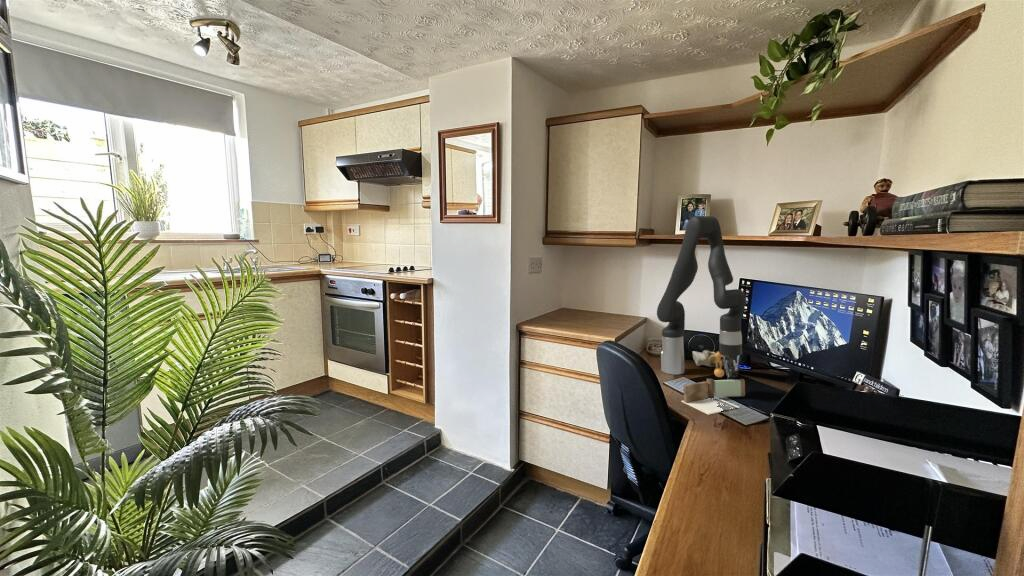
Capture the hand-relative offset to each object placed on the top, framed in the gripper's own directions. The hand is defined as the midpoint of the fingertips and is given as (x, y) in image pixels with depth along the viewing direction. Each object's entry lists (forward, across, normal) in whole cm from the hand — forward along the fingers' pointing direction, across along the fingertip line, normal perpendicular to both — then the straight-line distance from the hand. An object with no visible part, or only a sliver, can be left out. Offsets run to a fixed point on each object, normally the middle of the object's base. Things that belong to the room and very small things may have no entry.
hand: (731, 385), depth 151 cm
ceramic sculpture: (+5, +39, -2) cm, 39 cm away
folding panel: (+3, -3, +2) cm, 5 cm away
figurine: (+4, +21, -1) cm, 21 cm away
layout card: (+3, -11, +10) cm, 15 cm away
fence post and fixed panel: (+4, -7, +13) cm, 15 cm away
